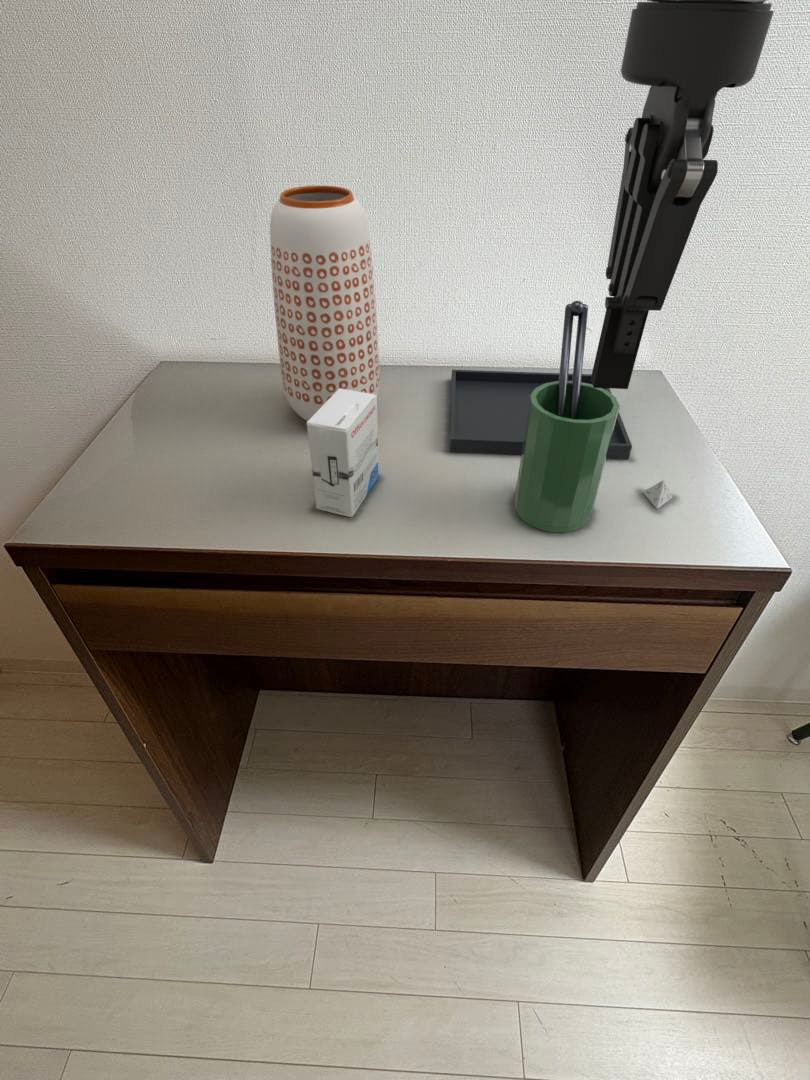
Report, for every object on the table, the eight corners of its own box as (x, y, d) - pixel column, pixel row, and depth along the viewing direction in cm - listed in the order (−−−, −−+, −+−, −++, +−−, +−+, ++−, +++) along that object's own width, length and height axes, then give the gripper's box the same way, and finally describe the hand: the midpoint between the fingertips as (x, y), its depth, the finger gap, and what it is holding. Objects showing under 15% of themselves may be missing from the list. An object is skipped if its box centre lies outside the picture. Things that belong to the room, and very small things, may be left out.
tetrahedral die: (639, 510, 73) (645, 496, 71) (642, 491, 75) (648, 477, 72) (670, 516, 73) (677, 502, 70) (672, 497, 74) (679, 482, 71)
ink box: (344, 470, 78) (338, 384, 70) (380, 478, 77) (379, 392, 69) (313, 509, 72) (303, 420, 64) (352, 519, 70) (347, 429, 63)
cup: (597, 497, 74) (625, 390, 65) (581, 541, 68) (610, 430, 59) (526, 479, 77) (543, 374, 67) (504, 520, 70) (520, 410, 61)
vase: (393, 428, 86) (391, 201, 67) (299, 445, 82) (269, 212, 64) (364, 385, 95) (355, 177, 76) (278, 400, 91) (247, 185, 73)
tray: (601, 386, 95) (604, 374, 94) (628, 459, 80) (632, 446, 79) (451, 381, 96) (451, 369, 95) (449, 452, 81) (450, 438, 80)
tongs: (557, 466, 77) (588, 298, 64) (567, 523, 69) (605, 343, 55) (539, 465, 77) (565, 298, 64) (546, 522, 69) (579, 343, 55)
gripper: (614, -5, 39) (553, 348, 55) (665, -6, 30) (573, 423, 45) (734, -3, 39) (638, 351, 55) (825, -4, 29) (677, 427, 45)
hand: (609, 383), depth 50 cm, fingers closed
